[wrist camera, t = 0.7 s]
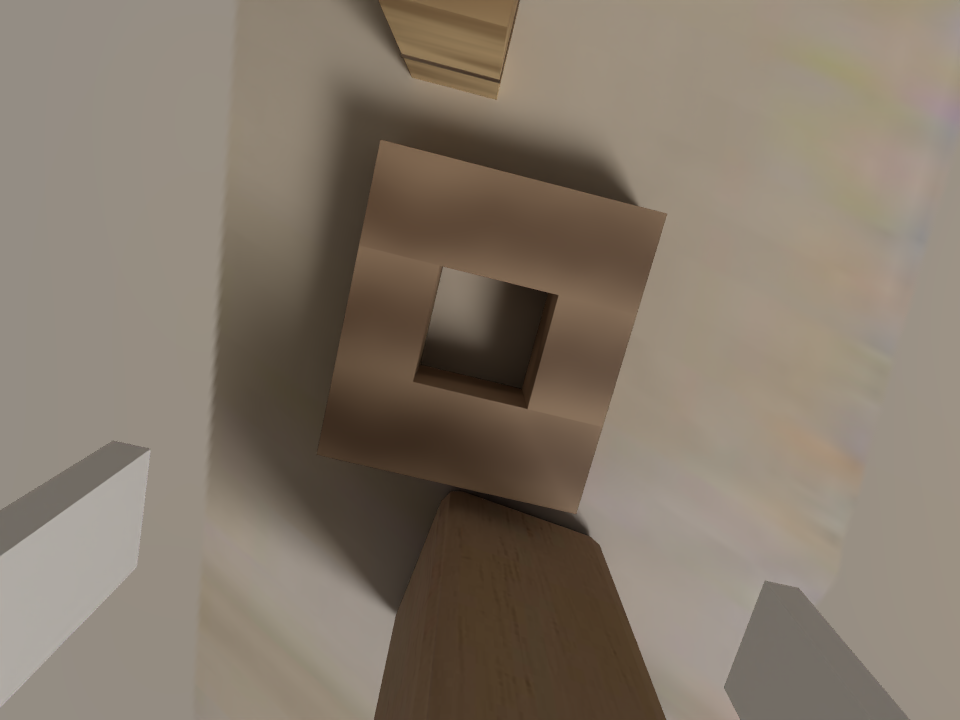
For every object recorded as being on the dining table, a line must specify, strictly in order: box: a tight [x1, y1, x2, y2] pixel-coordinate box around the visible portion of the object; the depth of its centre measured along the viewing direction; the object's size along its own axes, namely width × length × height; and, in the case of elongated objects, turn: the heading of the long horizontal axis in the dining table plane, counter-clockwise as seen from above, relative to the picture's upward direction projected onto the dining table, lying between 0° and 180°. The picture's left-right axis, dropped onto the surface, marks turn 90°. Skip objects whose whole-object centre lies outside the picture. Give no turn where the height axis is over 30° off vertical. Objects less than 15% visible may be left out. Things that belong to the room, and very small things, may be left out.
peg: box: [378, 0, 520, 100], centre depth 26 cm, size 5×5×12 cm
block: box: [374, 491, 666, 720], centre depth 28 cm, size 10×10×20 cm
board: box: [317, 140, 667, 514], centre depth 33 cm, size 16×14×4 cm
